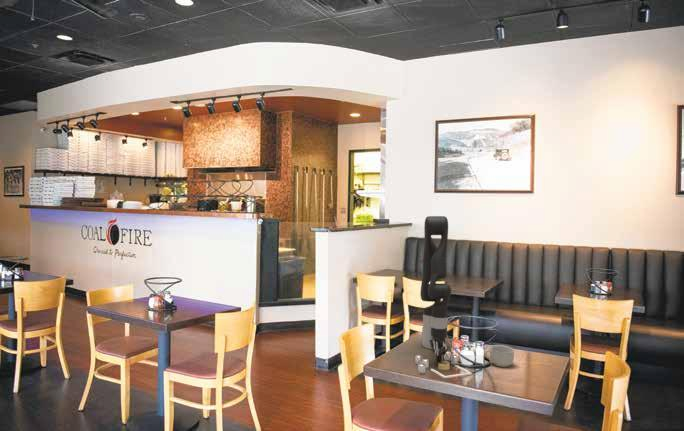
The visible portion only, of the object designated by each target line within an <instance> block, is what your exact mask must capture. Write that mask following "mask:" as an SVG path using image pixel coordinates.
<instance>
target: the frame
mask: <svg viewBox="0 0 684 431" xmlns="http://www.w3.org/2000/svg"><path fill="white" fill-rule="evenodd" d="M456 367H457V368H456ZM454 368H456V369H458V370H460V371H462V372H463V373H456V374H450V375H444V374H442V373H441V372H439V371H437V370H435V369H434V368H429V369H430V372H433V373H434V374H436V375H438V376H440V377H441V378H442V379H444V380H445V378H446V379H450V378H458V377H464V376H470V375H473V373H472V372H471V371H469V370H467V369H465V368H464V367H461V366H460V365H459V364H458V365H454Z"/></svg>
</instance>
